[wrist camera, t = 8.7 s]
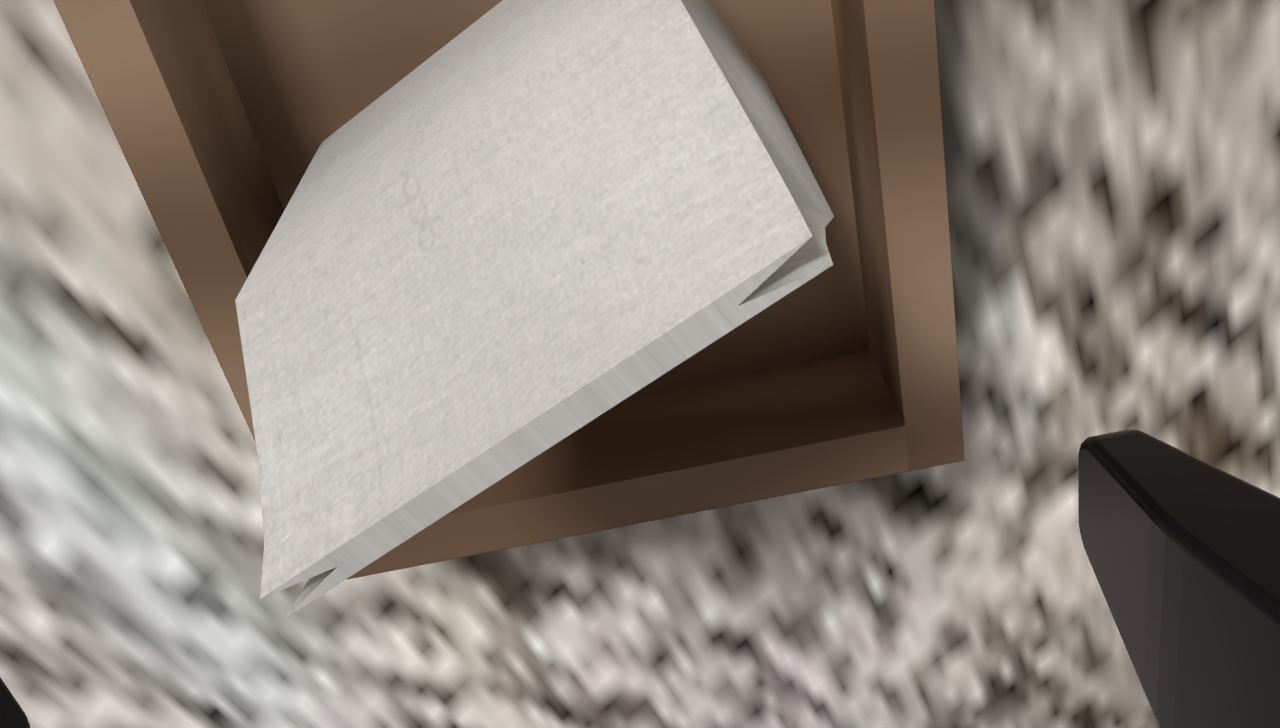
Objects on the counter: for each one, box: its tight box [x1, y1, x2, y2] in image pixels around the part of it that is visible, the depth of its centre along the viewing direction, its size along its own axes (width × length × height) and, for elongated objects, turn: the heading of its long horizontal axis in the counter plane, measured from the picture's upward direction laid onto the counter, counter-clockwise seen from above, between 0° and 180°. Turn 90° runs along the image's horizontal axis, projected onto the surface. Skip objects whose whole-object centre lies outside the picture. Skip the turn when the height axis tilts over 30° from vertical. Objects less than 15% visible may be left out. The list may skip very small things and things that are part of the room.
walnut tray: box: [54, 0, 964, 579], centre depth 19 cm, size 14×12×4 cm
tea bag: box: [235, 0, 834, 618], centre depth 15 cm, size 4×7×10 cm, turn 126°
